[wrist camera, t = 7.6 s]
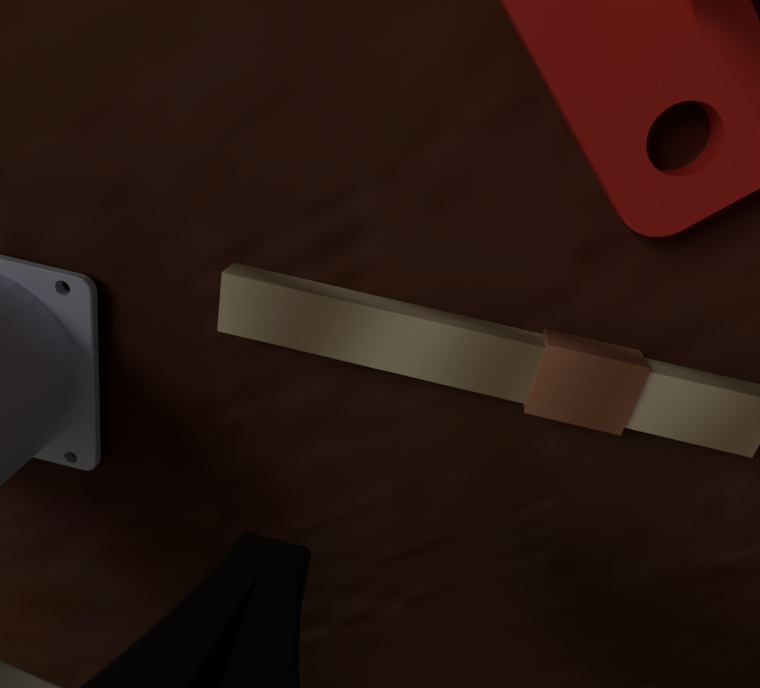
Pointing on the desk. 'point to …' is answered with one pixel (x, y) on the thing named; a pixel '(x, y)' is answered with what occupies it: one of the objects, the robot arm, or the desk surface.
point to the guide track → (495, 360)
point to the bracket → (652, 96)
